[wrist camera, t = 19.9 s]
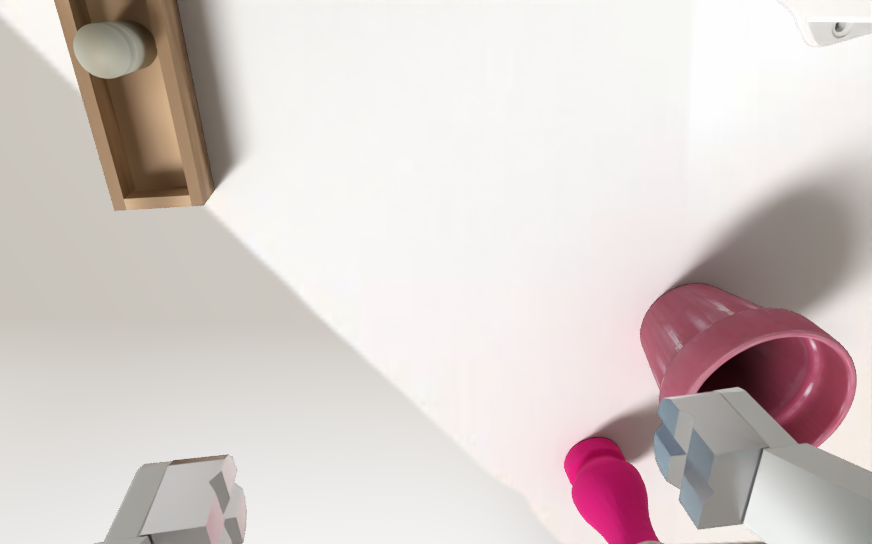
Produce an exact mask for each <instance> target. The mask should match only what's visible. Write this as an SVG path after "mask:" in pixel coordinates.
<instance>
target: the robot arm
mask: <svg viewBox="0 0 872 544" xmlns="http://www.w3.org/2000/svg"><path fill="white" fill-rule="evenodd" d="M778 1H779V2H780V3H781V4H782V5H783V6H785V7H786V8H787V9H788V10H789V11H790V12H791V13H792V15H793V16H794V18H795V21H796V24H797V26H798V29H799V32H800V34H801V37H802V39H803V40H804V42H805V43H806V44H807V45H808V46H811V47H824V46H829V45H832V44H836V43H839V42H843V41H846V40H850V39H853V38H857V37H860V36H864V35H867V34H871V33H872V0H778ZM837 22H838V23H839V24H838V28H837V29H836V30H835V25H836V23H837ZM658 416H659V417H660V419H661V420H662V421H663V424H662V425H661V426H660V427H659V428H658V429H657V430H656V431H655V434H654V444H653V447H654V453H655V459H656V462H657V464H658V467H659V469H660V471H661V473H662V475H663V476H664V478H665V479H666V481H667V482H669V483H670V484H672V485H674V486H675V487H677V488H679V489H680V495H679V501H680V503H681V504H682V506H683V507H684V509H685V511H686V512H687V514H688V515H689V517H690V518H691V520H692V521H693V523H694V524H695V526H696V527H697V529H706V528H714V527H722V526H730V525H738V524H743V527H744V528H746V529H747V530H748V531H750V532H751V533H753V534H754V535H755V536H757V537H758V538H760V539H761V540H762V541H764V542H765V543H767V544H872V472H871V471H868V470H866V469H864V468H862V467H859V466H857V465H855V464H853V463H850V462H848V461H846V460H844V459H841V458H839V457H837V456H835V455H832V454H830V453H828V452H826V451H823V450H821V449H819V448H817V447H814V446H812V445H810V444H808V443H803V444H798V443H797V442H796V441H795V440H794V439H793V438H792V437H791V436H790V435H789V434H788V433H787V432H786V431H785V430H784V429H783V428H782V427H781V426H780V425H779V424H778V423H777V422H776V421H775V420H774V419H773V418H772V417H771V416H770V415H769V414H768V413H767V412H766V411H765V410H764V409H763V408H762V407H761V406H760V405H759V404H758V403H757V402H756V401H755V400H754V399H753V398H752V397H751V396H750V395H749V394H748V393H747V392H746V391H745V390H743V389H741V388H739V387H734V388H728V389H721V390H714V391H712V392H703V393H695V394H688V395H681V396H674V397H666V398H663V399H662V401H661V402H660V404H659V409H658ZM236 473H237V468H236V465H235V462H234V459H233V456H231V455H220V456H210V457H201V458H191V459H183V460H173V461H170V462H160V463H150V464H144V465H143V466H142V467H140V468H139V469H138V471H137V472H136V474H135V476H134V479H133V481H132V483H131V485H130V487H129V489H128V492H127V494H126V496H125V498H124V500H123V502H122V504H121V506H120V508H119V510H118V513H117V515H116V517H115V519H114V521H113V523H112V526H111V528H110V530H109V532H108V534H107V536H106V538H105V540H104V542H100V543H95V544H242V543H243V541H244V536H245V531H246V514H247V510H246V503H245V502H246V501H245V496H244V492H243V489H242V488H241V487H240V486H239V485H237V484H236V483H234V481H235V477H236Z"/></svg>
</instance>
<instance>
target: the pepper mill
mask: <svg viewBox="0 0 872 544" xmlns="http://www.w3.org/2000/svg"><path fill="white" fill-rule="evenodd" d="M564 468H565V471H566V474H567V476H568V478H569V480H570V483H571V484H572V485H573V487H572V498H573V502H574V504H575V506H576V507H577V509H578V511H579V513H580V514H581V516H582V517H583V518H584V519H585V520H586V522H587V523H589V524H590V525H591V526H592V527H593V528H594V529H596V530H597V531H598V532H599V533H600V534H601V535H602V536H603V537H604V538H605V540H606V541H607V542H608V543H609V544H664V543H661V542H660V541H659V540H658V538H657V537H656V535H655V532H654V530H653V528H652V525H651V522H650V518H649V512H648V497H647V492H646V488H645V484H644V482H643V480H642V478H641V476H640V473H639V472H638V471H637V469H636V468H635V467H634V466H633V465H631V464H630V463H628V462H626V460H625V458H624V456H623V454H622V452H621V451H620V449H619V447H618V446H617V444H616V443H614V442H613V441H611V440H609V439H606V438H591V439H587V440H584V441H582V442H580V443H578V444H577V445H576V446H574V447H573V448H572V449H571V450H570V451H569V453H568V454H567V456H566V458H565V462H564Z"/></svg>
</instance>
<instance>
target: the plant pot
mask: <svg viewBox="0 0 872 544" xmlns="http://www.w3.org/2000/svg"><path fill="white" fill-rule="evenodd" d="M640 340H641V344H642V347H643V349H644V352H645V354H646V357H647V360H648V362H649V365H650V367H651V370H652V373H653V375H654V378H655V380H656V382H657V385H658V387H659V389H660V395H659V403H660V402H661V401H662V399H663V398H666V397H674V396H681V395H688V394H695V393H703V392H712V391H714V390H721V389H728V388H734V387H739V388H741V389H743V390H745V391H746V392H747V393H748V394H749V395H750V396H751V397H752V398H753V399H754V400H755V401H756V402H757V403H758V404H759V405H760V406H761V407H762V408H763V409H764V410H765V411H766V412H767V413H768V414H769V415H770V416H771V417H772V418H773V419H774V420H775V421H776V422H777V423H778V424H779V425H780V426H781V427H782V428H783V429H784V430H785V431H786V432H787V433H788V434H789V435H790V436H791V437H792V438H793V439H794V440H795V441H796V442H797V443H798V444H803V443H808V444H810V445H812V446H814V447H819V446H820V445H821V444H822V443H823V442H824V441H826V440H827V439H828V438H829V437H830V436H831V435H832V434H833V433H834V431H835V430H836V429H837V428H838V427H839V425H840V424H841V423H842V421H843V420H844V418H845V417H846V415H847V413H848V411H849V409H850V407H851V405H852V402H853V399H854V395H855V391H856V383H857V378H856V370H855V366H854V363H853V360H852V358H851V356H850V355H849V353H848V352H847V350H846V349H845V348H844V347H843V346H842V345H841V344H840V343H839V342H838V341H836V340H835V339H834V338H833V337H831V336H830V335H829V334H828V333H826V332H825V331H824V330H822V329H821V328H820V327H818V326H817V325H815V324H814V323H813V322H811V321H810V320H808V319H807V318H805V317H804V316H802V315H800V314H797V313H795V312H792V311H789V310H785V309H778V308H763V307H761V306H758V305H756V304H754V303H751V302H749V301H747V300H744V299H742V298H740V297H738V296H735V295H733V294H730V293H728V292H725V291H723V290H721V289H718V288H716V287H714V286H711V285H707V284H702V283H693V284H686V285H683V286H680V287H677V288H675V289H672V290H670V291H669V292H667V293H665V294H664V295H662V296H661V297H660V298H659V299H658V300H657V301H655V303H654V304H653V305H652V306H651V307H650V309H649V310H648V312H647V313H646V315H645V317H644V319H643V322H642V325H641V329H640Z"/></svg>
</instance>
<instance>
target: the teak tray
mask: <svg viewBox="0 0 872 544" xmlns="http://www.w3.org/2000/svg"><path fill="white" fill-rule="evenodd" d="M54 2H55V5H56V9H57V12H58V15H59V19H60V22H61V26H62V29H63V33H64V36H65V40H66V43H67V47H68V50H69V54H70V57H71V61H72V64H73V68H74V71H75V75H76V78H77V82H78V85H79V89H80V92H81V96H82V99H83V102H84V106H85V109H86V113H87V116H88V120H89V123H90V127H91V130H92V134H93V137H94V141H95V144H96V148H97V151H98V155H99V158H100V162H101V165H102V169H103V172H104V175H105V179H106V183H107V186H108V189H109V193H110V196H111V200H112V203H113V207H114V210H115V211H116V210H134V209H152V208H169V207H186V206H203V205H204V204H205V203H206V201H207V200H208V199H209V197H210V196H211V195H212V193H213V192H214V191H215V189H214V184H213V179H212V174H211V170H210V165H209V160H208V155H207V150H206V145H205V140H204V135H203V130H202V125H201V120H200V115H199V110H198V105H197V100H196V95H195V90H194V85H193V80H192V75H191V70H190V65H189V60H188V55H187V50H186V45H185V40H184V35H183V30H182V25H181V20H180V15H179V10H178V5H177V0H54Z"/></svg>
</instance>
